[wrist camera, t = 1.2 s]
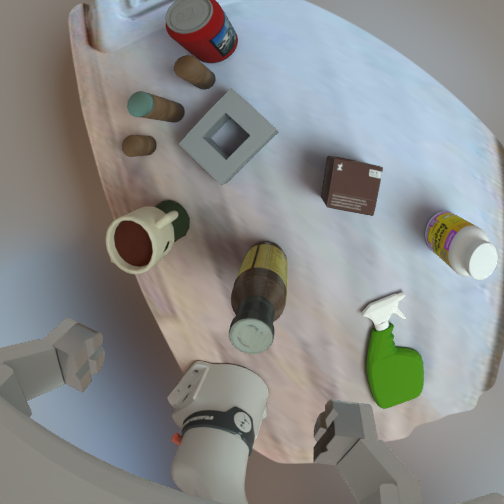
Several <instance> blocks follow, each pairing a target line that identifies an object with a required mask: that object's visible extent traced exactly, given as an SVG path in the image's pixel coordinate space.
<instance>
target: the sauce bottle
mask: <svg viewBox="0 0 504 504" xmlns="http://www.w3.org/2000/svg"><path fill="white" fill-rule="evenodd" d="M286 297H287V258H286V255H285V253H284V252H283V250H282V249H281V248H280V247H279V246H278V245H277V244H275V243H271V242H259V243H257V244H255V245H254V246H252V247H251V248H250V250H249V251H248V252H247V254H246V255H245V258H244V260H243V263H242V265H241V268H240V270H239V273H238V275H237V278H236V280H235V283H234V287H233V290H232V294H231V305H232V308H233V311H234V312H235V314H236V317H235V318H234V319H233V321H232V323H231V325H230V330H229V338H230V341H231V343H232V345H233V346H234V347H235V348H236V349H238V350H239V351H241V352H245V353H249V354H258V353H261V352H263V351H265V350H267V349H268V348H269V347H270V346H271V345H272V342H273V338H274V326H273V322H274V321H276V320H277V319H278V318H279V317H280V316H281V314H282V312H283V310H284V307H285V303H286Z"/></svg>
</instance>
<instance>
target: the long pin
mask: <svg viewBox="0 0 504 504" xmlns="http://www.w3.org/2000/svg"><path fill="white" fill-rule="evenodd" d="M127 108H128V111H129V113H130V114H131V115H132V116H135V117H142V118H149V119H155V120H162V121H168V122H178V121H180V120H181V119H182V118H183V116H184V113H185V111H184V107H183V106H182V105H181V104H179V103H176V102H173V101H170V100H167V99H164V98H161V97H158V96H155V95H152V94H149V93H145V92H141V91H140V92H136V93H134V94H133V95H132V96H131V97H130V99H129V101H128V104H127Z"/></svg>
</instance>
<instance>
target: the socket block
mask: <svg viewBox="0 0 504 504" xmlns="http://www.w3.org/2000/svg"><path fill="white" fill-rule="evenodd" d="M230 118H232V119H233V120H234V121H235V122H237V123H238V124H239V125H240V126H241V127H242V128H243V129H244V130H245V131H246V132H247V133H248V134H249V135H250V137H249V138H248V139H247V140H246V141H245V142H244V143H243V144H242V145H241V146H240V147H239V148H238V149H237V150H236V151H235V152H234V153H233V154H232V155H231V156H229V155H228V154H227V153H225V152H224V151H223V150H222V149H221V148H220V147H219V146H218V145H217V144H216V143H215V142H214V141H213V140H212V139H211V137H212V136H213V135H214V134H215V133H216V132H217V131H218V130H219V129H220V128H221V127H222V126H223V125H224V124H225V123H226V122H227V121H228V120H229V119H230ZM277 133H278V131H277V130H276V129H275V128H274V127H273V126H272V125H271V124H270V123H269V122H268V121H267V120H266V119H265V118H264V117H263V116H262V115H261V114H259V113H258V112H257V111H256V110H255V109H254V108H253V107H252V106H251V105H250V104H249V103H247V102H246V101H245V100H244V99H243V98H242V97H241V96H240V95H239V94H237V93H236V92H235V91H234V90H233V89H232V88H231V89H230V90H229V91H228V92H227V93H226V94H225V95H224V96H223V97H222V98H221V99H220V100H219V101H218V102H217V103H216V104H215V105H214V106H213V107H212V108H211V109H210V110H209V111H208V112H207V113H206V114H205V115H204V116H203V118H202V119H201V120H200V121H199V122H198V123H197V124H196V125H195V126H194V127H193V128H192V130H191V131H190V132H189V133H188V134H187V135H186V136H185V137H184V139H183V140H182V141H181V142H180V143H179V145H180V146H181V147H182V148H183V149H184V150H185V151H186V152H187V153H188V154H189V155H190V156H191V157H192V158H193V159H194V160H195V161H196V162H198V163H199V164H200V165H201V166H202V167H203V168H204V169H205V170H206V171H207V172H208V173H209V174H210V175H211V176H212V177H213V178H214V179H215V180H216V181H217V182H218V183H219V184H220V185H223V184H226V183H228V182H229V181H230V180H231V179H232V178H233V177H234V176H235V175H236V174H237V173H238V172H239V171H240V170H241V169H242V168H243V167H244V166H245V165H246V163H248V162H249V161H250V160H251V159H252V158H253V157H254V156H255V155H256V154H257V153H258V152H259V151H260V150H261V149H262V148H263V147H264V146H265V145H266V144H267V143H268V142H269V141H270V140H271V139H272V138H273V137H274V136H275V135H276V134H277Z"/></svg>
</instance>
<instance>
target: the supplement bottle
mask: <svg viewBox="0 0 504 504" xmlns="http://www.w3.org/2000/svg"><path fill="white" fill-rule="evenodd" d="M425 238H426V242H427V245H428V246H429V248H430V249H431V250H432V251H433V252H434V253H435V254H437V255H438V256H439V257H440V258H441V259H442V260H443V261H444V262H445V263H446V264H448V265H449V266H450V267H451V268H452V269H453V270H454V271H455V272H456V273H458V274H459V275H462V276H472V277H473V278H474V279H476V280H483V279H485V278H487V277H488V276H489V275H490V274H491V273H492V272H493V270H494V269H495V266H496V263H497V251H496V249H495V247H494V246H493V245H492V244H491V243H490V242H489V239H488V236H487V235H486V233H485V232H484V231H483V230H482V229H481V228H479V227H477V226H475V225H473V224H472V223H470V222H468V221H466V220H464V219H462V218H460V217H459V216H457V215H455V214H453V213H450V212H445V211H444V212H439V213H437V214H435V215H434V216H433V217H432V218H431V219H430V220H429V222H428V224H427V226H426V230H425Z"/></svg>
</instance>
